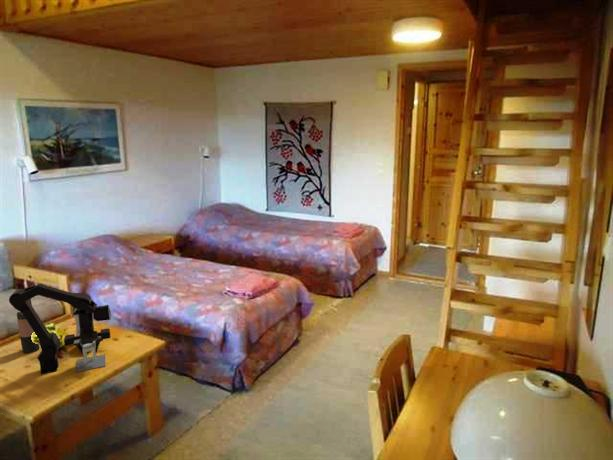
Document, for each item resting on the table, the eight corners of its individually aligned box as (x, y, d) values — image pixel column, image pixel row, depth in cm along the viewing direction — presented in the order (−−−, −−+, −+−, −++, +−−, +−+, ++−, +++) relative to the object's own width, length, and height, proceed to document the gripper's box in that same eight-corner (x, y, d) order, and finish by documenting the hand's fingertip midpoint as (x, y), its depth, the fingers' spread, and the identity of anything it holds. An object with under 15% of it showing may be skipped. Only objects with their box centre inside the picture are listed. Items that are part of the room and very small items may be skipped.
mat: (75, 372, 197) (75, 371, 197) (77, 360, 208) (77, 359, 208) (105, 366, 202) (105, 365, 202) (105, 354, 213) (105, 354, 213)
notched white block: (84, 356, 207) (83, 342, 205) (96, 354, 209) (94, 340, 207) (84, 363, 201) (82, 349, 199) (96, 361, 203) (94, 347, 201)
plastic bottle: (77, 337, 232) (73, 301, 227) (91, 335, 233) (87, 299, 229) (75, 343, 225) (70, 305, 221) (89, 341, 227) (85, 304, 223)
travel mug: (38, 352, 216) (33, 313, 212) (20, 355, 214) (14, 315, 209) (41, 345, 223) (36, 307, 219) (24, 348, 221) (18, 310, 216)
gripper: (61, 333, 190) (65, 366, 193) (109, 325, 198) (112, 357, 201) (63, 323, 200) (67, 355, 203) (108, 316, 207) (111, 347, 211)
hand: (89, 354), depth 204 cm, fingers closed on notched white block, 5 cm apart
